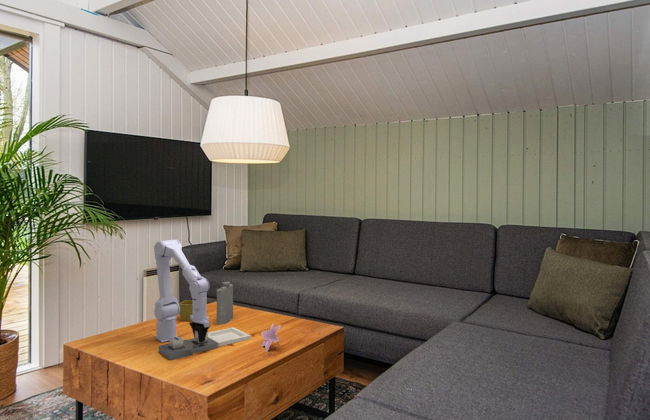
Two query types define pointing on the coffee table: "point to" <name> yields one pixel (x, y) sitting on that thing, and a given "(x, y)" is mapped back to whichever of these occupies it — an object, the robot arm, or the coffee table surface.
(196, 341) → the block
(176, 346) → the billet
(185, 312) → the flower pot
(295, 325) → the coffee table surface
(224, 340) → the white square tray
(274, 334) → the lily
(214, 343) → the metal frame
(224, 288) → the hip flask
